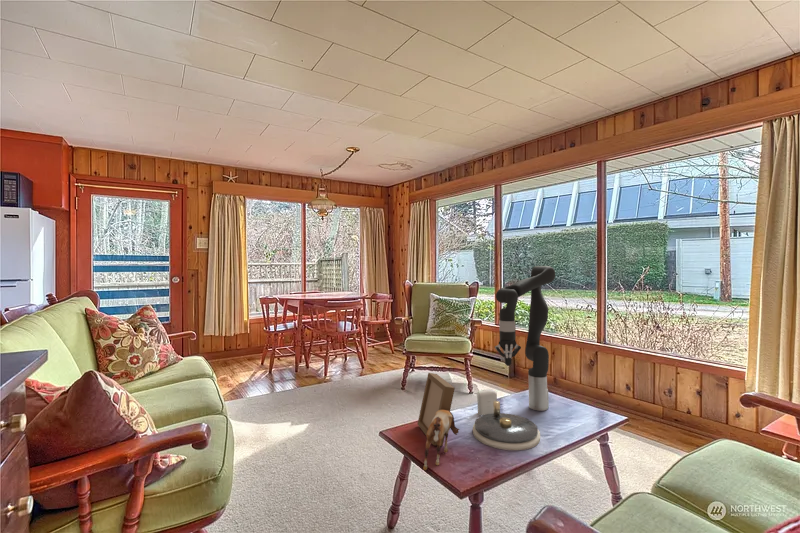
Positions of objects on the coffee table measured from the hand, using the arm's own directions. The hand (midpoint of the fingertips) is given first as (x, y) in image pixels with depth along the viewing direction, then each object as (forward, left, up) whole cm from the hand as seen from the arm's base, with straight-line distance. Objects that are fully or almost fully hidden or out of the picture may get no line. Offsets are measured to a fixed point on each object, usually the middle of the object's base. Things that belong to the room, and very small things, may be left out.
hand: (508, 365), depth 180 cm
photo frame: (+37, -5, -27) cm, 46 cm away
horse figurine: (+48, +13, -27) cm, 56 cm away
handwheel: (+12, +10, -25) cm, 29 cm away
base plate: (+12, +10, -27) cm, 31 cm away
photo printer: (+3, -12, -27) cm, 30 cm away
